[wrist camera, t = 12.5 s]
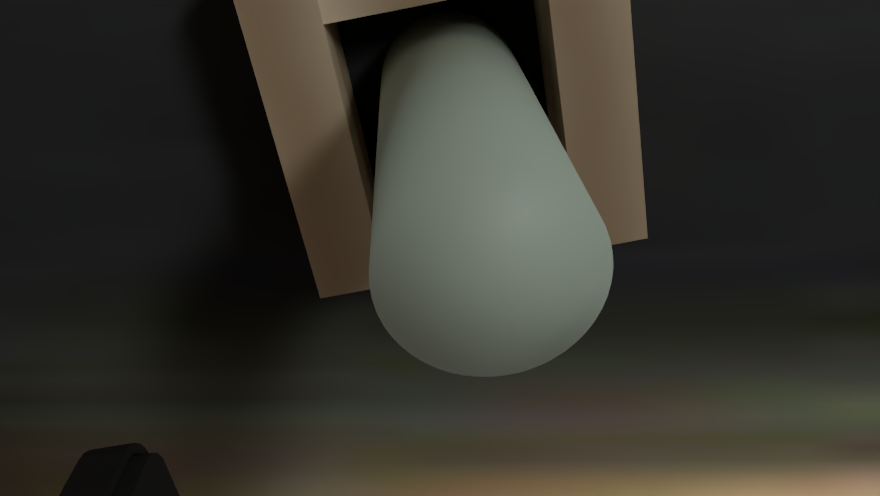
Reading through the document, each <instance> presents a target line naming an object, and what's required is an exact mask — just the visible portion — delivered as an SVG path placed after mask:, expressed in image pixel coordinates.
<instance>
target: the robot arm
mask: <svg viewBox="0 0 880 496" xmlns="http://www.w3.org/2000/svg"><path fill="white" fill-rule="evenodd" d="M59 496H179V494H178V492H177V489H176V487H175V485H174V482H173V480H172V478H171V476H170V473H169V471H168V469H167V466H166V464H165V462H164V460H163V458H162V457H161V456H160V455H159V454H158V453H150V454H149V453H148V452H147V450H146V448H145V447H143V446H142V445H141V444H139V443H131V444H125V445H118V446H112V447H106V448H100V449H94V450H89V451H87V452H85V453H84V454H83V455H82V457H81V458H80V459H79V461H78V463H77V464H76V466H75V468H74V470H73V472H72V473H71V475H70V477H69V479H68V481H67V483H66V484H65V486H64V488H63V490H62V492H61V493H60V495H59Z"/></svg>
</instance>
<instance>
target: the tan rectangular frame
mask: <svg viewBox="0 0 880 496" xmlns="http://www.w3.org/2000/svg"><path fill="white" fill-rule="evenodd" d="M233 1H234V5H235V8H236V11H237V15H238V18H239V22H240V25H241V29H242V32H243V35H244V39H245V42H246V46H247V49H248V53H249V56H250V59H251V63H252V66H253V70H254V73H255V77H256V80H257V83H258V87H259V90H260V94H261V97H262V100H263V104H264V107H265V111H266V114H267V118H268V121H269V124H270V128H271V131H272V135H273V138H274V142H275V145H276V148H277V152H278V155H279V159H280V162H281V166H282V169H283V172H284V176H285V179H286V183H287V186H288V190H289V193H290V196H291V200H292V203H293V207H294V210H295V213H296V217H297V220H298V224H299V227H300V231H301V234H302V237H303V241H304V244H305V248H306V251H307V255H308V258H309V261H310V265H311V268H312V272H313V275H314V279H315V282H316V285H317V289H318V292H319V296H320V298H325V297H331V296H336V295H342V294H347V293H352V292H358V291H363V290H369V289H370V286H369V261H370V245H371V229H372V214H373V198H374V182H375V181H374V177H373V173H372V169H371V165H370V160H369V156H368V152H367V148H366V144H365V139H364V135H363V131H362V127H361V123H360V118H359V114H358V110H357V106H356V102H355V97H354V93H353V89H352V85H351V81H350V76H349V72H348V68H347V64H346V60H345V55H344V51H343V47H342V43H341V39H340V34H339V30H338V26H337V22H339V21H344V20H349V19H354V18H359V17H364V16H369V15H374V14H379V13H385V12H390V11H395V10H400V9H405V8H410V7H415V6H420V5H425V4H430V3H435V2H440V1H445V0H233ZM533 1H534V9H535V17H536V25H537V33H538V41H539V49H540V56H541V64H542V72H543V80H544V88H545V96H546V104H547V112H548V120H549V122H550V123H551V125H552V127H553V129H554V131H555V133H556V135H557V136H558V138H559V140H560V142H561V144H562V146H563V147H564V149H565V151H566V153H567V155H568V157H569V159H570V160H571V162H572V164H573V166H574V168H575V170H576V172H577V173H578V175H579V177H580V179H581V181H582V183H583V184H584V186H585V188H586V190H587V192H588V194H589V196H590V197H591V199H592V201H593V203H594V205H595V207H596V209H597V210H598V212H599V214H600V216H601V218H602V220H603V222H604V224H605V226H606V228H607V231H608V234H609V237H610V240H611V245H613V244H619V243H624V242H629V241H635V240H640V239H646V238H647V224H646V210H645V197H644V183H643V170H642V156H641V142H640V129H639V115H638V102H637V88H636V74H635V61H634V47H633V34H632V20H631V6H630V0H533Z"/></svg>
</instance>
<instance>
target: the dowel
mask: <svg viewBox="0 0 880 496" xmlns="http://www.w3.org/2000/svg"><path fill="white" fill-rule="evenodd" d="M612 274H613V252H612V246H611V240H610V237H609V234H608V231H607V228H606V226H605V224H604V222H603V220H602V218H601V216H600V214H599V212H598V210H597V209H596V207H595V205H594V203H593V201H592V199H591V197H590V196H589V194H588V192H587V190H586V188H585V186H584V184H583V183H582V181H581V179H580V177H579V175H578V173H577V172H576V170H575V168H574V166H573V164H572V162H571V160H570V159H569V157H568V155H567V153H566V151H565V149H564V147H563V146H562V144H561V142H560V140H559V138H558V136H557V135H556V133H555V131H554V129H553V127H552V125H551V123H550V122H549V120H548V118H547V116H546V114H545V112H544V110H543V109H542V107H541V105H540V103H539V101H538V99H537V97H536V96H535V94H534V92H533V90H532V88H531V86H530V85H529V83H528V81H527V79H526V77H525V75H524V73H523V72H522V70H521V68H520V66H519V64H518V62H517V60H516V59H515V57H514V55H513V53H512V51H511V49H510V48H509V46H508V44H507V42H506V41H505V39H504V38H503V37H502V35H501V34H500V33H499V32H498V31H497V30H496V29H495V28H494V27H493V26H491V25H490V24H489V23H487V22H486V21H484V20H482V19H480V18H478V17H476V16H473V15H470V14H467V13H462V12H453V11H446V12H438V13H434V14H430V15H427V16H424V17H422V18H420V19H418V20H416V21H414V22H413V23H411V24H410V25H408V26H407V27H406V28H405V29H403V31H402V32H401V33H400V34H399V35H398V36H397V37H396V38H395V40H394V41H393V42H392V44H391V46H390V47H389V49H388V51H387V54H386V56H385V59H384V63H383V67H382V74H381V89H380V104H379V120H378V136H377V151H376V167H375V182H374V198H373V214H372V229H371V245H370V261H369V286H370V292H371V297H372V301H373V304H374V307H375V310H376V312H377V314H378V316H379V318H380V320H381V322H382V324H383V325H384V327H385V328H386V330H387V331H388V332H389V334H390V335H391V336H392V337H393V338H394V339H395V341H396V342H397V343H398V344H399V345H400V346H401V347H403V348H404V349H405V350H406V351H408V352H409V353H410V354H411V355H413V356H415V357H416V358H418V359H419V360H421V361H423V362H424V363H427V364H429V365H431V366H433V367H435V368H438V369H441V370H444V371H447V372H450V373H455V374H460V375H465V376H476V377H495V376H503V375H510V374H514V373H518V372H523V371H526V370H529V369H532V368H534V367H537V366H539V365H542V364H544V363H546V362H548V361H550V360H552V359H553V358H555V357H557V356H558V355H560V354H562V353H563V352H565V351H566V350H567V349H568V348H570V347H571V346H572V345H573V344H575V343H576V342H577V341H578V340H579V339H580V338H581V337H582V336H583V335H584V334H585V333H586V332H587V330H588V329H589V328H590V327H591V325H592V324H593V323H594V321H595V320H596V318H597V316H598V315H599V313H600V311H601V310H602V308H603V305H604V303H605V301H606V298H607V296H608V293H609V289H610V285H611V282H612Z"/></svg>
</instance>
